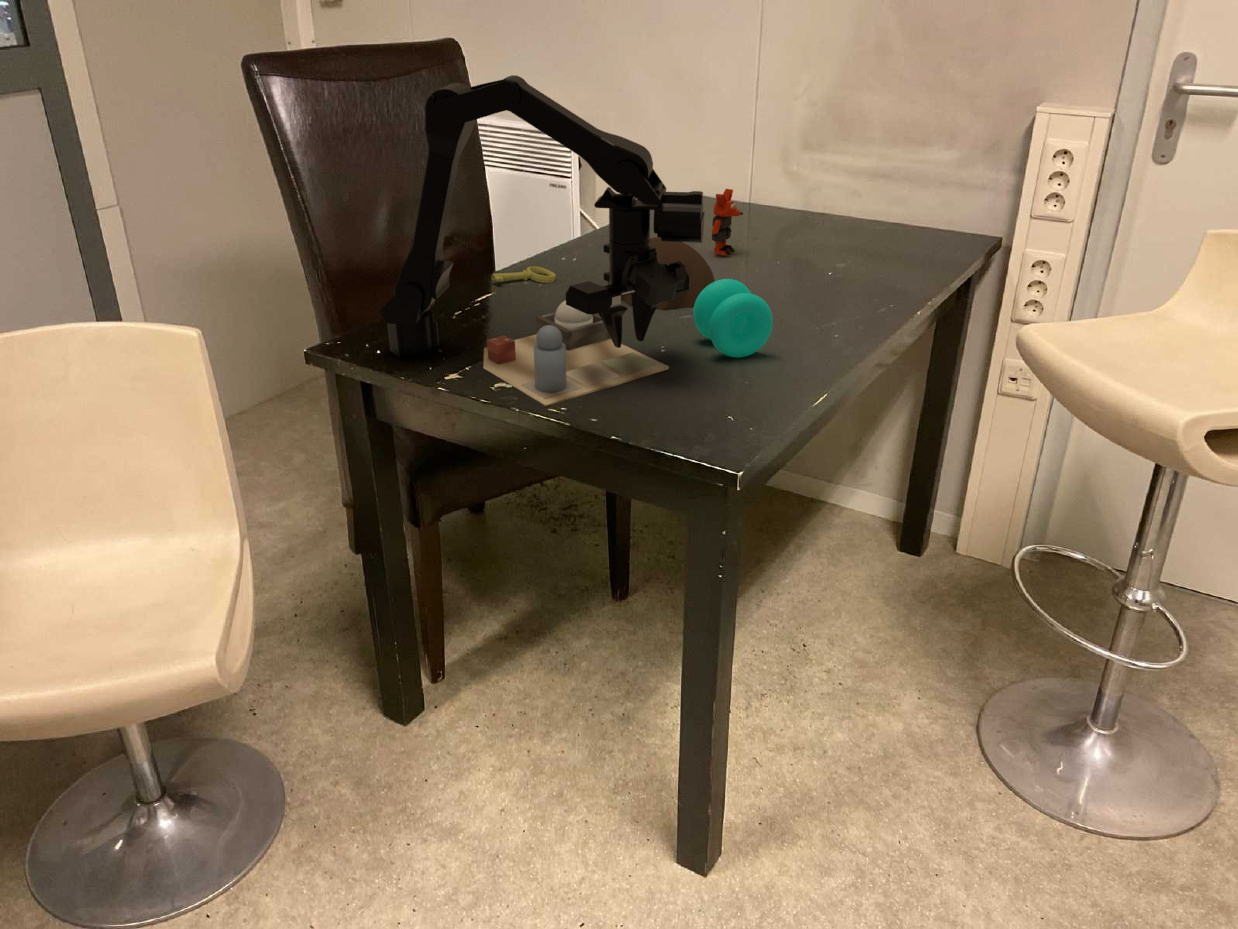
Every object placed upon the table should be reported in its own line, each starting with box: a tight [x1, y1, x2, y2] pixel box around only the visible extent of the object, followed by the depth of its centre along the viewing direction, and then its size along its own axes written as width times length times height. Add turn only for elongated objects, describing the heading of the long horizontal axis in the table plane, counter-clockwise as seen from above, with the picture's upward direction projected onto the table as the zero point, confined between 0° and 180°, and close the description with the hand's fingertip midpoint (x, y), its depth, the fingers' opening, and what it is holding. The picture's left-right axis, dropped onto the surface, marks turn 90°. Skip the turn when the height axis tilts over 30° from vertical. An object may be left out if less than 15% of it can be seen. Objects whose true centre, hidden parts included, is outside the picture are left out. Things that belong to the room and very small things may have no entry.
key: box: [491, 266, 557, 284], centre depth 183 cm, size 7×12×2 cm, turn 138°
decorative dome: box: [607, 237, 716, 311], centre depth 178 cm, size 19×20×10 cm
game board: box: [483, 311, 670, 407], centre depth 150 cm, size 22×23×4 cm
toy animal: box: [711, 188, 744, 256], centre depth 198 cm, size 8×6×12 cm
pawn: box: [534, 325, 567, 393], centre depth 139 cm, size 4×4×9 cm
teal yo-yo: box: [692, 278, 774, 358], centre depth 153 cm, size 10×10×10 cm
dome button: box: [555, 299, 593, 329], centre depth 157 cm, size 6×6×6 cm
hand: (628, 343), depth 148 cm, fingers open, 4 cm apart
